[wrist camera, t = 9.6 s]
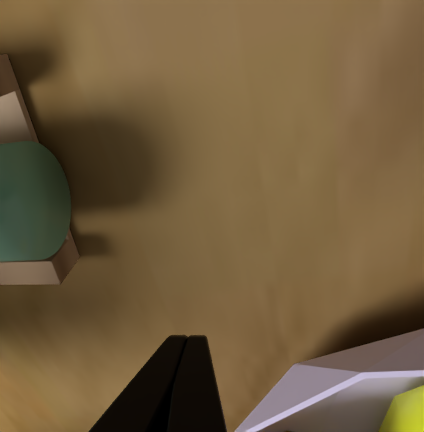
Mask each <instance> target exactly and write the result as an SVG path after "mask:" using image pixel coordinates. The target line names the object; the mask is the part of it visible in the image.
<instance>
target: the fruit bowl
mask: <svg viewBox="0 0 424 432" xmlns="http://www.w3.org/2000/svg"><path fill="white" fill-rule="evenodd" d="M234 432H424V329H420V330H417V331H413V332H409V333H406V334H402V335H398V336H395V337H391V338H387V339H384V340H380V341H376V342H373V343H369V344H365V345H362V346H358V347H354V348H351V349H347V350H343V351H340V352H336V353H332V354H329V355H325V356H321V357H318V358H314V359H310V360H307V361H303V362H299V363H296V364H294V365H293V366H292V367H291V368H290V369H289V370H288V371H287V373H286V374H285V375H284V376H283V377H282V378H281V379H280V380H279V382H278V383H277V384H276V385H275V386H274V387H273V388H272V389H271V391H270V392H269V393H268V394H267V395H266V396H265V397H264V398H263V400H262V401H261V402H260V403H259V404H258V405H257V406H256V408H255V409H254V410H253V411H252V412H251V413H250V414H249V415H248V417H247V418H246V419H245V420H244V421H243V422H242V423H241V424H240V426H239V427H238V428H237V429H236V430H235V431H234Z"/></svg>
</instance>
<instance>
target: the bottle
mask: <svg viewBox="0 0 424 432" xmlns="http://www.w3.org/2000/svg"><path fill="white" fill-rule="evenodd" d="M70 220H71V197H70V190H69V186H68V182H67V179H66V176H65V174H64V171H63V169H62V167H61V165H60V163H59V162H58V160H57V159H56V157H55V156H54V155H53V154H52V153H51V152H50V151H49V150H48V149H47V148H46V147H44V146H43V145H41V144H39V143H37V142H33V141H21V142H12V143H4V144H0V262H8V261H27V260H42V259H46V258H48V257H51V256H52V255H53V254H55V253H56V252H57V251H58V250H59V248H60V247H61V246H62V244H63V242H64V240H65V238H66V236H67V233H68V230H69V226H70Z"/></svg>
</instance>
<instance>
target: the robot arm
mask: <svg viewBox="0 0 424 432" xmlns="http://www.w3.org/2000/svg"><path fill="white" fill-rule="evenodd" d="M89 432H227V429H226V424H225V419H224V415H223V410H222V406H221V401H220V396H219V392H218V387H217V382H216V378H215V373H214V368H213V364H212V359H211V354H210V350H209V345H208V340H207V337H206V336H205V335H190V336H189V337H187V336H186V335H171V336H169V337H168V338H167V339H166V340H165V341H164V342H163V343H162V345H161V346H160V347H159V348H158V349H157V351H156V352H155V353H154V354H153V355H152V356H151V358H150V359H149V360H148V361H147V362H146V364H145V365H144V366H143V367H142V368H141V370H140V371H139V372H138V373H137V374H136V376H135V377H134V378H133V379H132V380H131V382H130V383H129V384H128V385H127V386H126V388H125V389H124V390H123V391H122V392H121V393H120V395H119V396H118V397H117V398H116V399H115V401H114V402H113V403H112V404H111V405H110V407H109V408H108V409H107V410H106V411H105V413H104V414H103V415H102V416H101V417H100V419H99V420H98V421H97V422H96V423H95V424H94V426H93V427H92V428H91V429H90V430H89Z"/></svg>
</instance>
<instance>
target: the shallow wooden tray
mask: <svg viewBox="0 0 424 432" xmlns="http://www.w3.org/2000/svg"><path fill="white" fill-rule="evenodd" d="M21 141H33V142H37V143H39V142H38V139H37V136H36V133H35V131H34V128H33V125H32V122H31V119H30V117H29V114H28V111H27V108H26V105H25V103H24V100H23V97H22V94H21V91H20V89H19V86H18V83H17V80H16V77H15V75H14V72H13V69H12V66H11V63H10V61H9V58H8V55H7V54H4V55H0V144H4V143H12V142H21ZM79 257H80V256H79V254H78V251H77V248H76V245H75V242H74V240H73V237H72V234H71V231H70V228H69V230H68V233H67V236H66V238H65V240H64V242H63V244H62V246H61V247H60V248H59V250H58V251H57V252H56V253H55V254H53V255H52V256H51V257H48V258H46V259H42V260H27V261H8V262H0V285H40V284H61V283H62V282H63V280H64V279H65V277H66V276H67V274H68V273H69V272H70V270H71V269H72V267H73V266H74V264H75V263H76V262H77V260H78V259H79Z"/></svg>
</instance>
